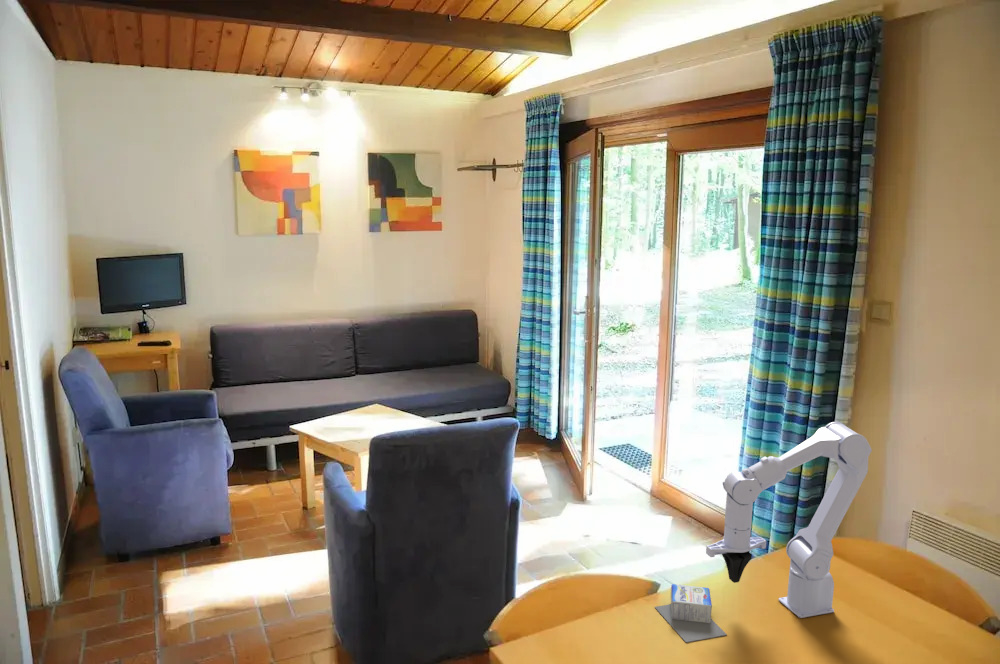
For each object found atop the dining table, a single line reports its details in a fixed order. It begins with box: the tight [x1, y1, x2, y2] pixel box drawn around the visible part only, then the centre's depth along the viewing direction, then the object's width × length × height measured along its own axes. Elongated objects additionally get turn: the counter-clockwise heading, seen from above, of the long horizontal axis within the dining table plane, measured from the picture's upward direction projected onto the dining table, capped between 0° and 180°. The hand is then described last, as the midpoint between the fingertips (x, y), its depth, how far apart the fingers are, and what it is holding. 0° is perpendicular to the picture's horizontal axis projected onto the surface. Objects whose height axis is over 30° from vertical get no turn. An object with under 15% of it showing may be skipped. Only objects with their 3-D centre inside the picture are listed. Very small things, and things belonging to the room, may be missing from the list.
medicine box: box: [670, 583, 713, 623], centre depth 168 cm, size 8×4×9 cm
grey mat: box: [654, 603, 728, 644], centre depth 165 cm, size 10×14×1 cm
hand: (734, 580), depth 169 cm, fingers closed
